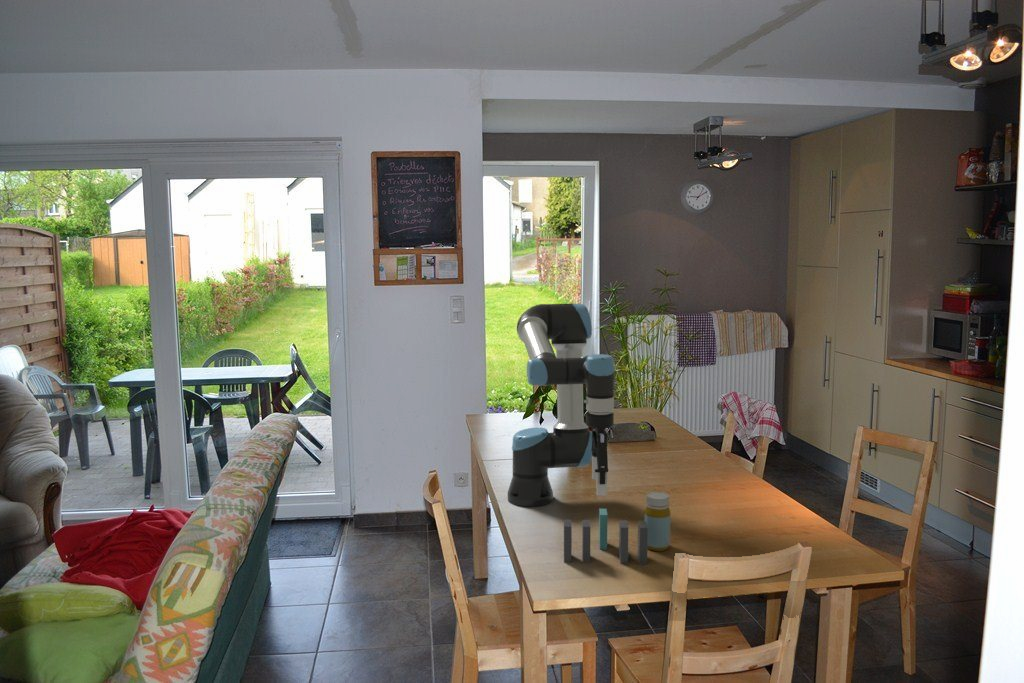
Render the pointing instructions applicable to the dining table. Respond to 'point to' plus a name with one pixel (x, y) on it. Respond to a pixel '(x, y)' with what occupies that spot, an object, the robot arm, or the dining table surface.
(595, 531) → the dining table surface
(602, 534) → the domino
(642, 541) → the domino
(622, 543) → the domino
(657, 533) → the bottle
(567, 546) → the domino
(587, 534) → the domino
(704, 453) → the dining table surface
